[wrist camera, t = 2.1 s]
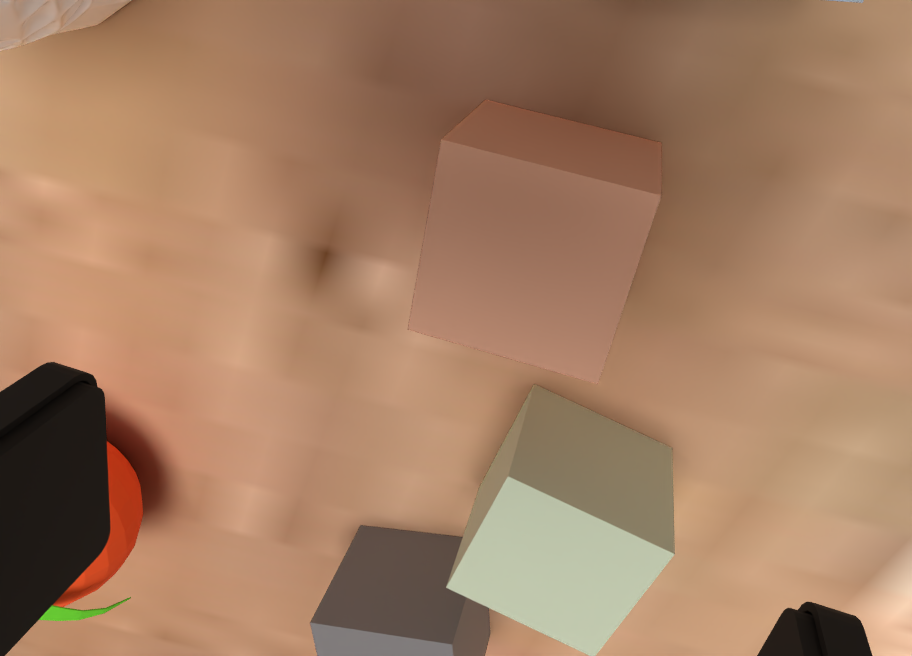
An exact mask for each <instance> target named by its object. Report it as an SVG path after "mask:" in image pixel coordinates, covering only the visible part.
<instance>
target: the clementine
mask: <svg viewBox="0 0 912 656" xmlns="http://www.w3.org/2000/svg"><path fill="white" fill-rule="evenodd" d="M107 459H108V482H109V504H110V527H111V529H110V535H109V539H108V541H107V544H106V546H105V548H104V549H103V551H102V552H101V554H100V555H99V556H98V557H97V558H96V559H95V560H94V562H93V563H92V564H91V565H90V566H89V567H88V568H87V569H86V570H85V571H84V572H83V573H82V574H81V575H80V576H79V577H78V578H77V580H76V581H75V582H74V583H73V584H72V585H71V586H70V587H69V588H68V589H67V590H66V591H65V592H64V593H63V594H62V595H61V597H60V598H59V599H58V600H57V601H56V602H55V603H54V604H53V605H52V606H51V607H50V608H49V609H48V610H47V611H46V612H45V613H44V615H43V616H42V617H41V618H40V619H39V620H53V621H66V620H81V619H85V618H88V617H92V616H96V615H99V614H103V613H105V612H107V611H109V610H111V609H113V608H114V607H116V606H118V605H120V604H121V603H123V602H125V601H127V600H129V599H130V598H131V597H130V598H127V599H125V600H123V601H121V602H118V603H116V604H114V605H111V606H109V607H107V608H101V609H91V610H77V609H70V608H64V606H66V605H68V604H70V603H72V602H74V601H76V600H78V599H80V598H82V597H84V596H86V595H88V594H90V593H92V592H94V591H96V590H98V589H99V588H100V587H101V586H102V585H103V584H104V583H105V582H107V581H108V580H109V579H110V578H111V577H112V576H113V575H114V574H115V573H116V572H117V571H118V569H119V568H120V567H121V566H122V565H123V563H124V562H125V560H126V558H127V557H128V555H129V554H130V552H131V551H132V549H133V548H134V546H135V543H136V539H137V536H138V532H139V528H140V525H141V521H142V517H143V506H142V495H141V486H140V483H139V480H138V478H137V475H136V473H135V471H134V469H133V468H132V466H131V465H130V463H129V462H128V460H127V459H126V458H125V457H124V456H123V455H122V454H121V453H120V452H119V450H118V449H117V448H115V447H114V446H113V445H111V444H110V443H109V442H107Z"/></svg>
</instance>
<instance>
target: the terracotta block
mask: <svg viewBox="0 0 912 656" xmlns="http://www.w3.org/2000/svg"><path fill="white" fill-rule="evenodd" d="M661 196H662V143H661V142H657V141H653V140H648V139H644V138H640V137H636V136H632V135H628V134H624V133H620V132H616V131H612V130H608V129H604V128H600V127H596V126H592V125H587V124H583V123H579V122H575V121H571V120H567V119H563V118H559V117H555V116H551V115H547V114H543V113H539V112H535V111H531V110H526V109H522V108H518V107H514V106H510V105H506V104H502V103H498V102H494V101H490V100H485V101H483V102H482V103H481V104H480V105H479V106H478V107H477V108H476V109H475V110H473V111H472V112H471V113H470V114H469V115H468V116H467V117H466V118H464V119H463V120H462V121H461V122H460V123H459V124H458V125H457V126H456V127H454V128H453V129H452V130H451V131H450V132H449V133H448V134H447V135H446V136H444V137H443V138H442V139H441V143H440V148H439V154H438V160H437V165H436V171H435V177H434V183H433V188H432V194H431V200H430V205H429V211H428V217H427V222H426V228H425V234H424V240H423V245H422V251H421V257H420V262H419V268H418V274H417V279H416V285H415V291H414V296H413V302H412V308H411V314H410V319H409V325H408V330H411V331H415V332H418V333H422V334H425V335H429V336H432V337H435V338H439V339H442V340H446V341H449V342H453V343H456V344H460V345H463V346H467V347H470V348H474V349H477V350H480V351H484V352H487V353H491V354H494V355H498V356H501V357H505V358H508V359H512V360H515V361H519V362H522V363H525V364H529V365H532V366H536V367H539V368H543V369H546V370H550V371H553V372H557V373H560V374H564V375H567V376H570V377H574V378H577V379H581V380H584V381H588V382H591V383H595V384H598V383H599V380H600V377H601V374H602V371H603V368H604V365H605V362H606V359H607V356H608V353H609V350H610V347H611V344H612V341H613V338H614V335H615V332H616V329H617V326H618V323H619V320H620V317H621V314H622V312H623V309H624V306H625V303H626V300H627V297H628V294H629V291H630V288H631V285H632V282H633V279H634V276H635V273H636V270H637V267H638V264H639V261H640V258H641V255H642V252H643V249H644V246H645V243H646V240H647V237H648V234H649V231H650V228H651V226H652V223H653V220H654V217H655V214H656V211H657V208H658V205H659V202H660V199H661Z"/></svg>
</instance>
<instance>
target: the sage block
mask: <svg viewBox="0 0 912 656" xmlns="http://www.w3.org/2000/svg"><path fill="white" fill-rule="evenodd" d="M674 554H675V546H674V502H673V458H672V448H671V447H669V446H667V445H665V444H663V443H660V442H658V441H656V440H654V439H652V438H650V437H648V436H645V435H643V434H641V433H639V432H637V431H635V430H632V429H630V428H628V427H626V426H624V425H622V424H620V423H617V422H615V421H613V420H611V419H609V418H607V417H604V416H602V415H600V414H598V413H596V412H594V411H592V410H589V409H587V408H585V407H583V406H581V405H579V404H576V403H574V402H572V401H570V400H568V399H566V398H564V397H561V396H559V395H557V394H555V393H553V392H551V391H548V390H546V389H544V388H542V387H540V386H538V385H535V384H534V385H533V387H532V389H531V391H530V393H529V395H528V397H527V398H526V400H525V402H524V404H523V406H522V408H521V410H520V412H519V413H518V415H517V417H516V419H515V421H514V423H513V425H512V427H511V428H510V430H509V432H508V434H507V436H506V438H505V440H504V442H503V443H502V445H501V447H500V449H499V451H498V453H497V455H496V457H495V458H494V460H493V462H492V464H491V466H490V468H489V470H488V472H487V473H486V475H485V477H484V479H483V481H482V483H481V485H480V487H479V490H478V493H477V496H476V499H475V502H474V505H473V508H472V511H471V514H470V517H469V520H468V523H467V526H466V529H465V532H464V535H463V538H462V541H461V544H460V547H459V550H458V553H457V556H456V559H455V562H454V565H453V568H452V571H451V574H450V577H449V580H448V583H447V586H446V588H448V589H450V590H452V591H454V592H456V593H458V594H461V595H463V596H465V597H467V598H469V599H471V600H473V601H475V602H477V603H480V604H482V605H484V606H486V607H488V608H490V609H492V610H494V611H496V612H499V613H501V614H503V615H505V616H507V617H509V618H511V619H513V620H516V621H518V622H520V623H522V624H524V625H526V626H528V627H530V628H532V629H535V630H537V631H539V632H541V633H543V634H545V635H547V636H549V637H551V638H554V639H556V640H558V641H560V642H562V643H564V644H566V645H568V646H570V647H573V648H575V649H577V650H579V651H581V652H583V653H585V654H587V655H589V656H596V654H597V653H598V652H599V650H600V649H601V648H602V647H603V645H604V644H605V643H606V641H607V640H608V639H609V638H610V636H611V635H612V634H613V633H614V631H615V630H616V629H617V627H618V626H619V625H620V624H621V622H622V621H623V620H624V618H625V617H626V616H627V615H628V613H629V612H630V611H631V609H632V608H633V607H634V606H635V604H636V603H637V602H638V600H639V599H640V598H641V597H642V595H643V594H644V593H645V592H646V590H647V589H648V588H649V586H650V585H651V584H652V583H653V581H654V580H655V579H656V577H657V576H658V575H659V574H660V572H661V571H662V570H663V568H664V567H665V566H666V565H667V563H668V562H669V561H670V560H671V558H672V557H673V556H674Z"/></svg>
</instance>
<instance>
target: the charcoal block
mask: <svg viewBox="0 0 912 656" xmlns="http://www.w3.org/2000/svg"><path fill="white" fill-rule="evenodd" d="M462 538H463V537H458V536H449V535H441V534H432V533H423V532H415V531H406V530H397V529H389V528H380V527H371V526H363V525H361V526H360V527H359V529H358V531H357V533H356V535H355V537H354V539H353V541H352V543H351V545H350V547H349V549H348V551H347V553H346V554H345V556H344V558H343V560H342V562H341V564H340V566H339V568H338V570H337V572H336V574H335V576H334V578H333V580H332V581H331V583H330V585H329V587H328V589H327V591H326V593H325V595H324V597H323V599H322V601H321V603H320V605H319V606H318V608H317V610H316V612H315V614H314V616H313V618H312V620H311V622H310V624H311V629H312V634H313V638H314V643H315V647H316V652H317V656H485V653H486V649H487V645H488V641H489V637H490V620H489V608H488V607H486V606H484V605H482V604H480V603H477V602H475V601H473V600H471V599H469V598H467V597H465V596H463V595H461V594H458V593H456V592H454V591H452V590H450V589H448V588H446V586H447V583H448V580H449V577H450V574H451V571H452V568H453V565H454V562H455V559H456V556H457V553H458V550H459V547H460V544H461V541H462Z"/></svg>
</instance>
